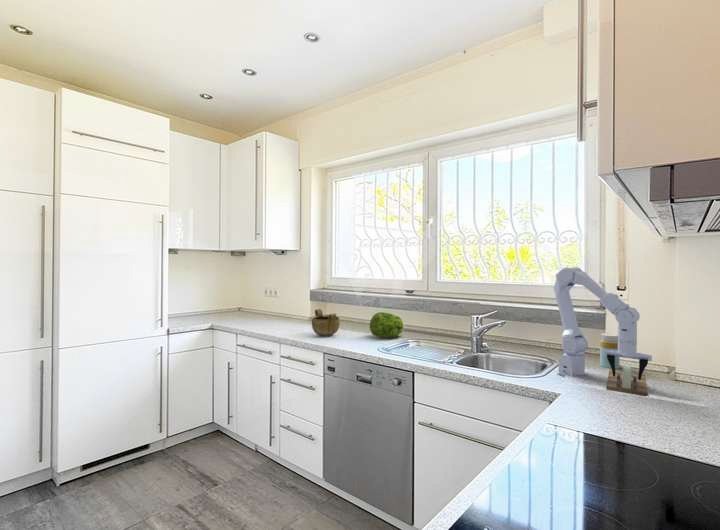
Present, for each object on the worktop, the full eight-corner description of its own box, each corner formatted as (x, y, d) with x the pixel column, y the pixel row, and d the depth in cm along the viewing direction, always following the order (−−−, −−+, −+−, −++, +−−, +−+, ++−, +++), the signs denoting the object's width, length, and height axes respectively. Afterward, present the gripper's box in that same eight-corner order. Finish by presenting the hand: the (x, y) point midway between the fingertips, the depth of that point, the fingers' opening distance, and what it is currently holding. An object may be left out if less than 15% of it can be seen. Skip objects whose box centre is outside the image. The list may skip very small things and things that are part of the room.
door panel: (630, 388, 137) (631, 372, 137) (622, 387, 138) (622, 370, 138) (630, 381, 145) (630, 365, 145) (622, 380, 146) (622, 364, 146)
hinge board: (647, 396, 132) (647, 386, 132) (606, 389, 139) (606, 380, 139) (645, 377, 153) (645, 369, 153) (609, 372, 160) (609, 364, 160)
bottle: (596, 368, 167) (596, 333, 167) (606, 365, 170) (606, 332, 169) (612, 372, 161) (612, 336, 160) (622, 370, 164) (623, 335, 163)
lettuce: (408, 343, 226) (412, 318, 230) (379, 335, 216) (384, 309, 221) (392, 342, 240) (396, 318, 244) (364, 334, 230) (369, 309, 234)
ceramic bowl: (305, 333, 239) (305, 309, 239) (329, 331, 248) (329, 308, 248) (321, 340, 220) (321, 314, 220) (346, 337, 229) (347, 312, 229)
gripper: (603, 340, 142) (602, 376, 142) (652, 345, 134) (651, 384, 134) (604, 337, 148) (603, 372, 148) (651, 341, 139) (650, 379, 140)
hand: (626, 377), depth 141 cm, fingers open, 7 cm apart
